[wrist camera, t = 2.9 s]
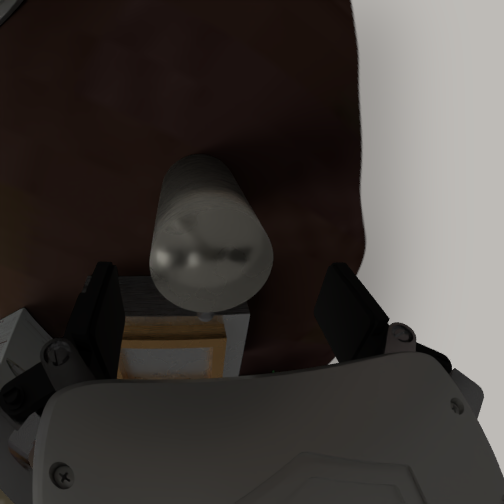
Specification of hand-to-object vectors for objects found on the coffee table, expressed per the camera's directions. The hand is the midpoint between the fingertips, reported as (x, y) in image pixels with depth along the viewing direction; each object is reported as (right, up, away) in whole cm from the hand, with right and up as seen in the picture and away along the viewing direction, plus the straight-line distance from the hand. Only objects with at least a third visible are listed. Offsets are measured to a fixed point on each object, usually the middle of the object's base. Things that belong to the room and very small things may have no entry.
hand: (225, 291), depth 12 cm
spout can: (-3, +5, +9) cm, 11 cm away
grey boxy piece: (-8, -6, +15) cm, 18 cm away
